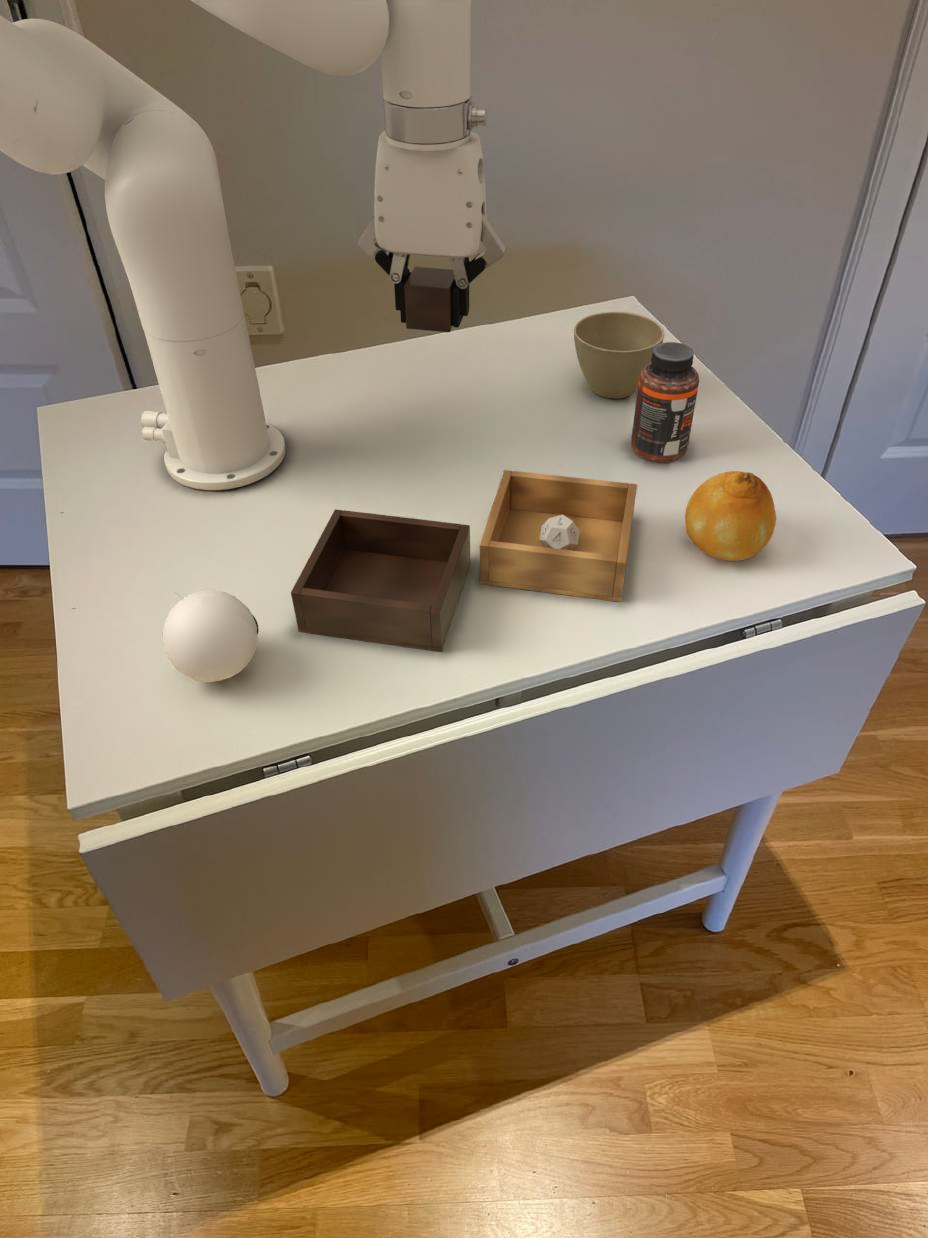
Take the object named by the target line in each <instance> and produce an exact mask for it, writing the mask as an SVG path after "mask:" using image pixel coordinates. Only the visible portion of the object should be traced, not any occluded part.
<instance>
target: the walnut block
mask: <svg viewBox="0 0 928 1238" xmlns="http://www.w3.org/2000/svg"><path fill="white" fill-rule="evenodd" d="M410 272H411V274H410V276H409V278H408V279H407V281H406V283H405V285H404V290H405V312H406V323H405V328H406V329H408V330H417V331H428V332H429V331H431V332H438V333H439V332H441V333H451V332H452V329H453V328H454V327H453V326H452V315H451V290H452V287H453V285H454V280H455V277H454V273H453V269H452V268H451V269H449V268H437V267H436V268H435V267H425V266H424V267H423V266H414V267H413V269H412V270H411V271H410Z"/></svg>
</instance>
